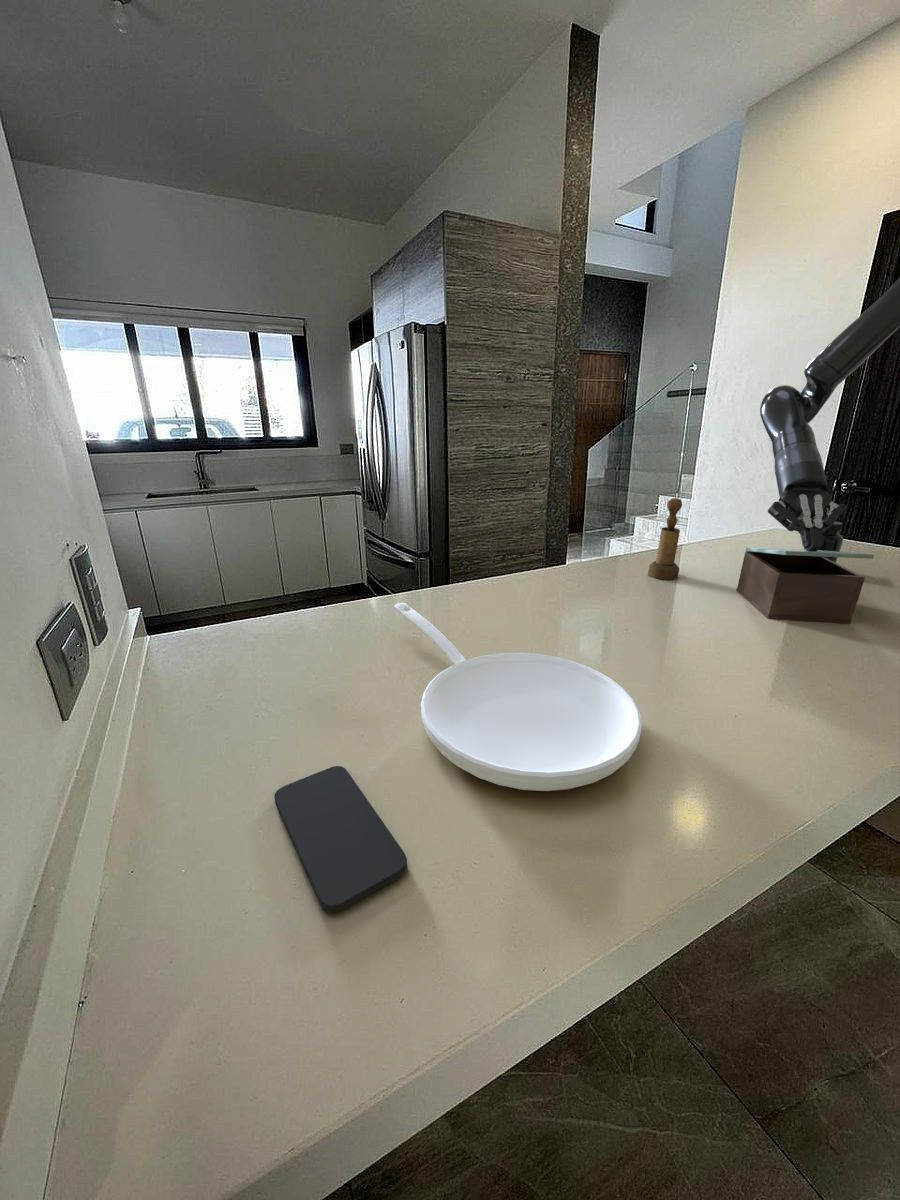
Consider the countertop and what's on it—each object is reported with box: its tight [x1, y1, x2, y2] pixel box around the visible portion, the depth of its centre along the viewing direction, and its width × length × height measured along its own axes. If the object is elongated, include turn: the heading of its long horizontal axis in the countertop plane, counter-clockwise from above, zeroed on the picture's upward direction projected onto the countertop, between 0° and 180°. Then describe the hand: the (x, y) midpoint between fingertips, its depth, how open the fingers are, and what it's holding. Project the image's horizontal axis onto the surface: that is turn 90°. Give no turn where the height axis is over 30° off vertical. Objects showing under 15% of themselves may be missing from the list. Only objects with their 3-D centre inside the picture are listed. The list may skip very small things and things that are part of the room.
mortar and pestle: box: [647, 497, 683, 581], centre depth 109 cm, size 7×6×18 cm
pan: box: [392, 602, 643, 792], centre depth 63 cm, size 25×44×6 cm, turn 34°
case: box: [736, 550, 866, 624], centre depth 93 cm, size 16×14×9 cm
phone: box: [273, 765, 408, 913], centre depth 43 cm, size 7×1×15 cm
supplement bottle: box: [803, 519, 844, 563], centre depth 113 cm, size 7×7×12 cm
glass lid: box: [745, 546, 875, 560], centre depth 90 cm, size 16×14×1 cm
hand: (814, 549), depth 87 cm, fingers closed
